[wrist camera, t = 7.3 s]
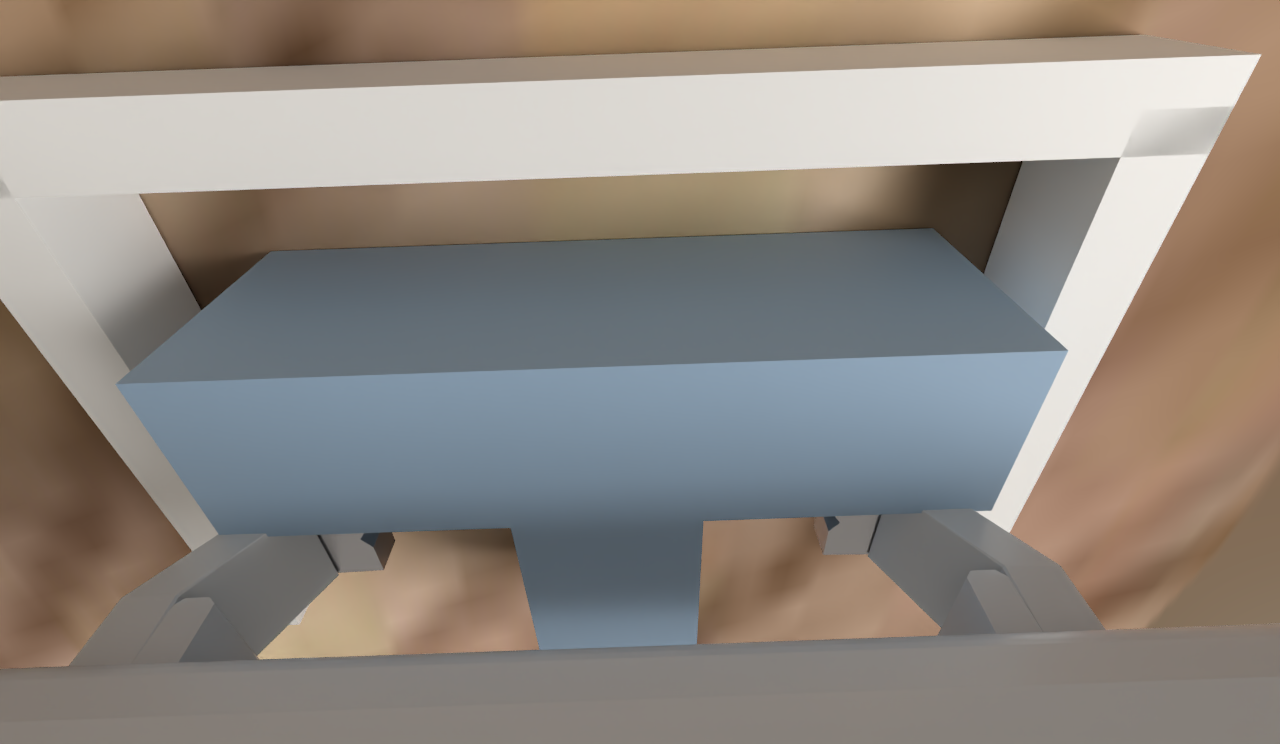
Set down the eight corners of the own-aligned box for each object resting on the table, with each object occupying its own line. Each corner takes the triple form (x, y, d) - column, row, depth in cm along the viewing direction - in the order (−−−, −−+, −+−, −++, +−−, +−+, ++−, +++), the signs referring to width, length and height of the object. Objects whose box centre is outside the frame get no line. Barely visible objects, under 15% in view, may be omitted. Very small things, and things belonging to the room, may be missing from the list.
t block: (402, 560, 16) (345, 717, 13) (270, 251, 11) (115, 384, 7) (845, 544, 16) (901, 697, 13) (933, 228, 11) (1067, 350, 7)
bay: (288, 556, 16) (249, 626, 14) (-6, 77, 9) (-147, 105, 7) (938, 531, 16) (974, 599, 14) (1145, 34, 9) (1261, 54, 7)
